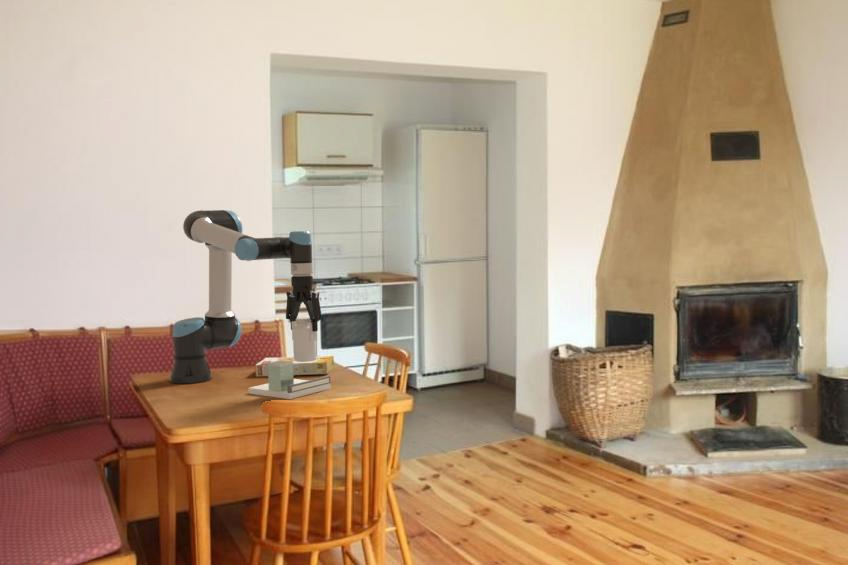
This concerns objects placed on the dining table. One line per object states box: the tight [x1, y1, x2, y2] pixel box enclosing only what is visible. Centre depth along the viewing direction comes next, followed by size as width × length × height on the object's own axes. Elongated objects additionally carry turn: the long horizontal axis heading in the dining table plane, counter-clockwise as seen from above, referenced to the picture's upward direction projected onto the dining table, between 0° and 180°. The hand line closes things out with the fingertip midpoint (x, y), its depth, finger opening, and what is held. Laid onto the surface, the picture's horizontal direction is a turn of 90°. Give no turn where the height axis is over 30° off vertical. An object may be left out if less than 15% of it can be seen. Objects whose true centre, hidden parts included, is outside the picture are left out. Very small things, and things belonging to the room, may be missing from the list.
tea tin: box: [267, 360, 295, 391], centre depth 282 cm, size 6×6×9 cm
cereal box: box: [254, 355, 335, 378], centre depth 328 cm, size 20×6×28 cm
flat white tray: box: [248, 375, 332, 400], centre depth 288 cm, size 20×20×4 cm
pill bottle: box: [292, 316, 317, 362], centre depth 290 cm, size 8×8×15 cm
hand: (304, 340), depth 290 cm, fingers closed on pill bottle, 8 cm apart
